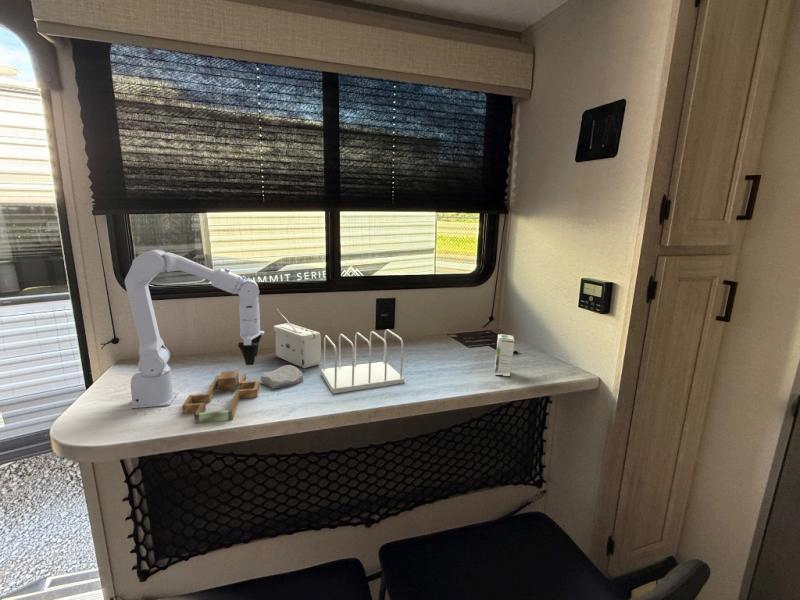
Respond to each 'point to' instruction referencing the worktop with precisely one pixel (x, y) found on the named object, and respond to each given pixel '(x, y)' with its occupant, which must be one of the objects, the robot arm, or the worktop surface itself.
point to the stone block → (282, 377)
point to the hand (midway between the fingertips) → (251, 360)
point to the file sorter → (361, 369)
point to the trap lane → (199, 400)
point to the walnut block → (228, 381)
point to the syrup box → (504, 353)
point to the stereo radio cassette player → (297, 344)
